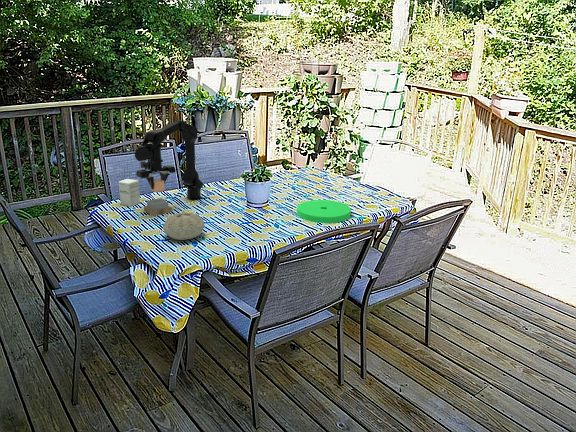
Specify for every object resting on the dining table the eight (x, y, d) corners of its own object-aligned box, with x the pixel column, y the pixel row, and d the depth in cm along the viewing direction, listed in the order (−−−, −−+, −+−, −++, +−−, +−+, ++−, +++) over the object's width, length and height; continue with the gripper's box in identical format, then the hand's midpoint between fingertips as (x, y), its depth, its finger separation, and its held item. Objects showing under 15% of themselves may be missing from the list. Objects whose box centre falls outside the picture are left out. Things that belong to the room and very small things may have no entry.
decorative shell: (155, 237, 221) (153, 216, 218) (184, 226, 235) (183, 205, 232) (185, 247, 212) (183, 224, 208) (213, 234, 226) (212, 213, 222)
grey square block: (162, 203, 258) (161, 198, 257) (168, 207, 252) (168, 202, 251) (147, 206, 253) (146, 200, 252) (153, 210, 247) (153, 204, 246)
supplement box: (120, 204, 263) (117, 181, 258) (130, 200, 269) (128, 178, 265) (130, 207, 259) (128, 183, 255) (140, 203, 266) (138, 180, 261)
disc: (354, 208, 263) (354, 202, 262) (345, 226, 239) (346, 219, 238) (304, 203, 270) (304, 197, 269) (290, 220, 246) (291, 213, 244)
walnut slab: (162, 208, 260) (161, 202, 259) (171, 213, 253) (171, 207, 252) (144, 212, 254) (143, 206, 253) (153, 217, 247) (153, 211, 246)
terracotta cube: (159, 188, 253) (158, 178, 251) (164, 190, 250) (164, 180, 248) (150, 190, 250) (149, 180, 248) (155, 192, 246) (155, 182, 245)
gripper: (163, 152, 256) (165, 181, 261) (129, 157, 244) (132, 188, 249) (175, 155, 248) (177, 186, 254) (140, 161, 236) (143, 193, 241)
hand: (157, 188), depth 250 cm, fingers closed on terracotta cube, 5 cm apart
